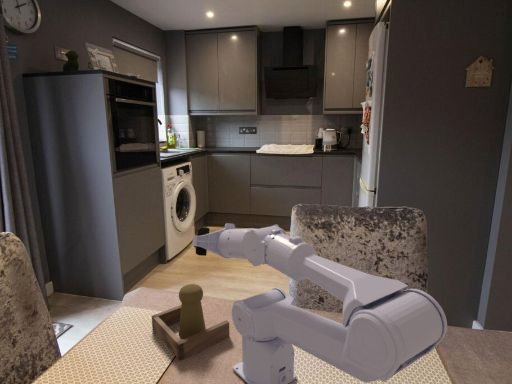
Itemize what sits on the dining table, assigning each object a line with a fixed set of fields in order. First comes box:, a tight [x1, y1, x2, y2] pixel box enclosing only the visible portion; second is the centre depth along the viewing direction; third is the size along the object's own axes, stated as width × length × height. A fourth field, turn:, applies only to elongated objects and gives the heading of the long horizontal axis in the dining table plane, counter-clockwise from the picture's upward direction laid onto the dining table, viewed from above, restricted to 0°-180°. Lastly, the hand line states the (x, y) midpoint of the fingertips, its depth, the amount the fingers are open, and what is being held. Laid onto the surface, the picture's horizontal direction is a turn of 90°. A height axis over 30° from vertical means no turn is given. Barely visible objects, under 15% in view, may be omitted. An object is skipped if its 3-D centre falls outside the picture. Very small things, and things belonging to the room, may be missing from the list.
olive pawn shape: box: [178, 283, 207, 340], centre depth 74 cm, size 6×6×11 cm
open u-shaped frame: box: [151, 304, 230, 361], centre depth 74 cm, size 13×12×4 cm
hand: (210, 242), depth 76 cm, fingers open, 7 cm apart
